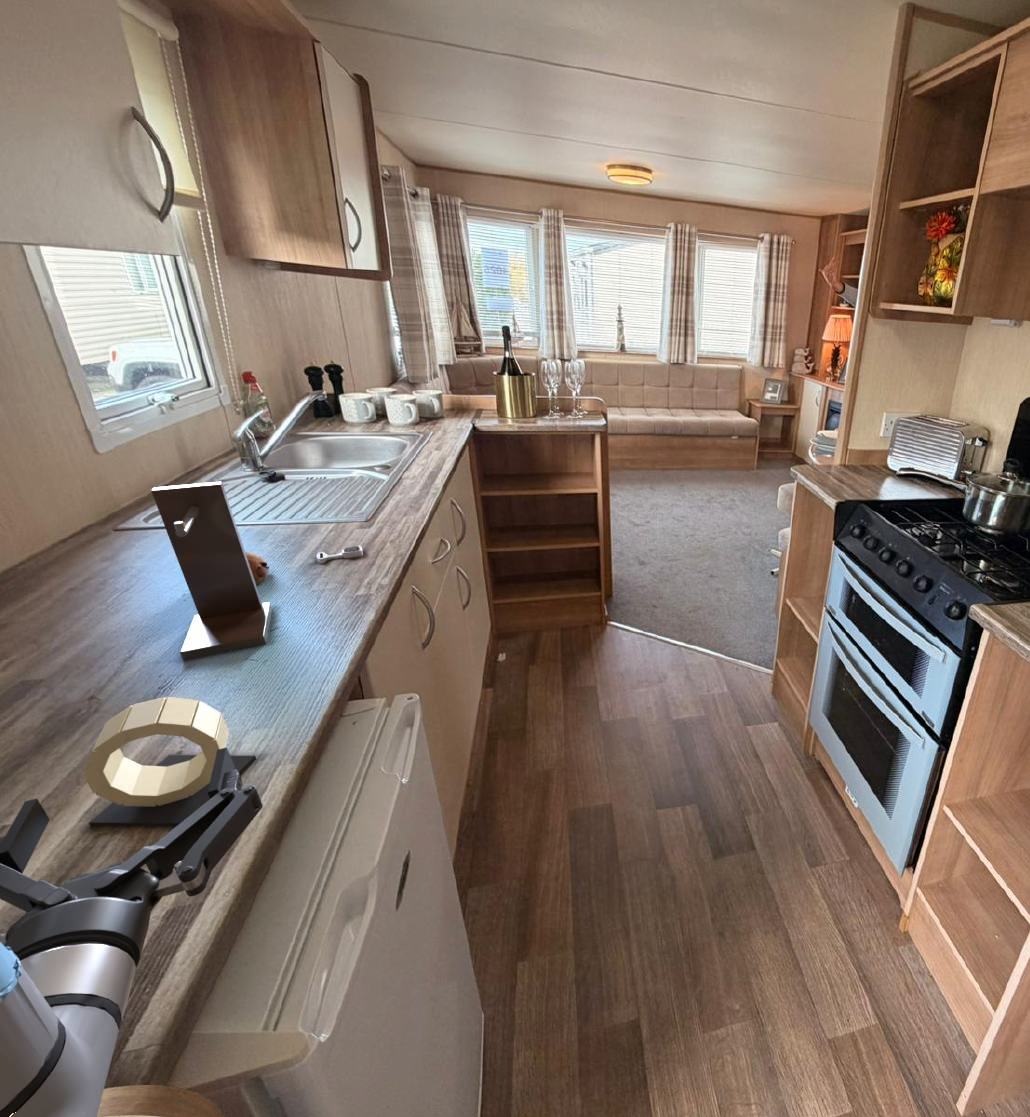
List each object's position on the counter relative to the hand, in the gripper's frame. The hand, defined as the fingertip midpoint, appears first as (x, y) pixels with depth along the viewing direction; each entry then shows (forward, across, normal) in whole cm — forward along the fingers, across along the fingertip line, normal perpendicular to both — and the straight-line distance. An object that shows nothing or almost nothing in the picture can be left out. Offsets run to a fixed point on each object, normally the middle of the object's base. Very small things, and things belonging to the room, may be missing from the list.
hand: (137, 782), depth 58 cm
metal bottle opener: (+71, +16, -8) cm, 73 cm away
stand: (+45, +1, -8) cm, 45 cm away
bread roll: (+67, 0, -8) cm, 67 cm away
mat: (+7, 0, -8) cm, 11 cm away
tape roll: (+7, 0, -7) cm, 10 cm away
